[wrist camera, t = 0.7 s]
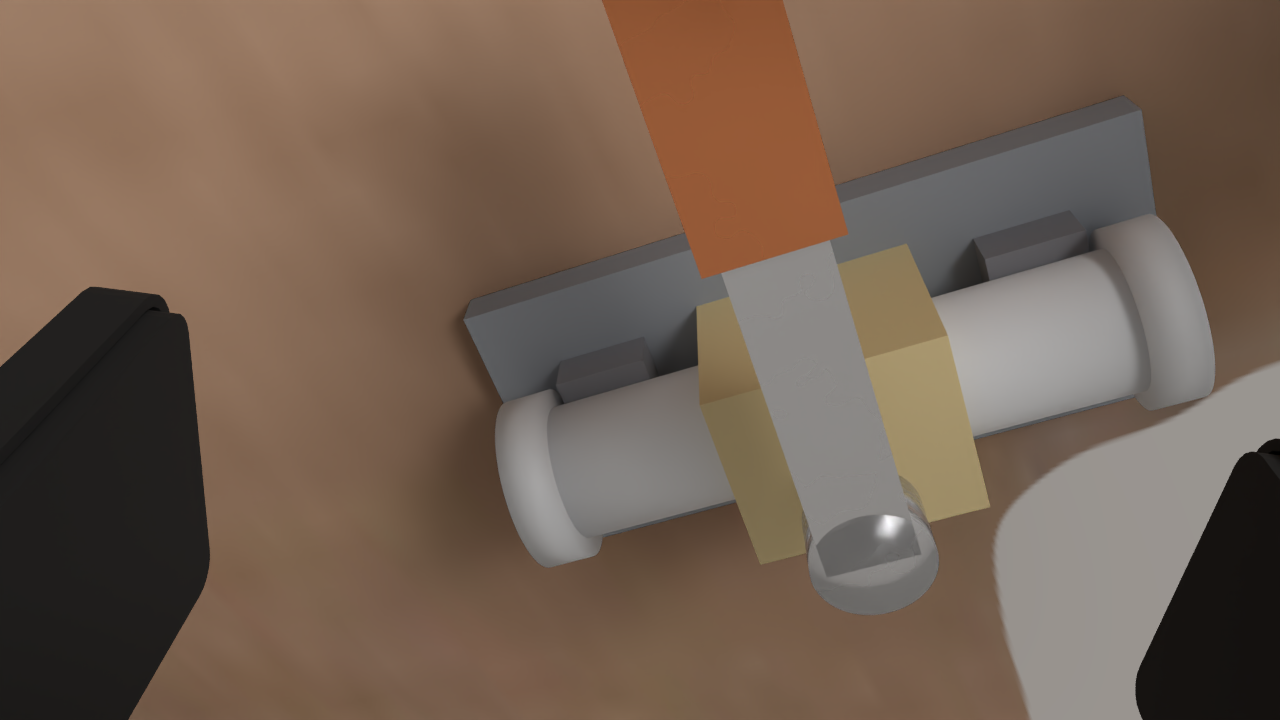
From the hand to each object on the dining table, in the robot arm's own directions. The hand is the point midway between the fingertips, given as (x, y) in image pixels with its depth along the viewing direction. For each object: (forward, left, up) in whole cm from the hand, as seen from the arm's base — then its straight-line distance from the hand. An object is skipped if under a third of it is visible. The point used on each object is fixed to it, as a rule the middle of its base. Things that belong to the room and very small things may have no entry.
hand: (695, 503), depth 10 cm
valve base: (-1, +13, -26) cm, 29 cm away
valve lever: (-1, +6, -16) cm, 17 cm away
